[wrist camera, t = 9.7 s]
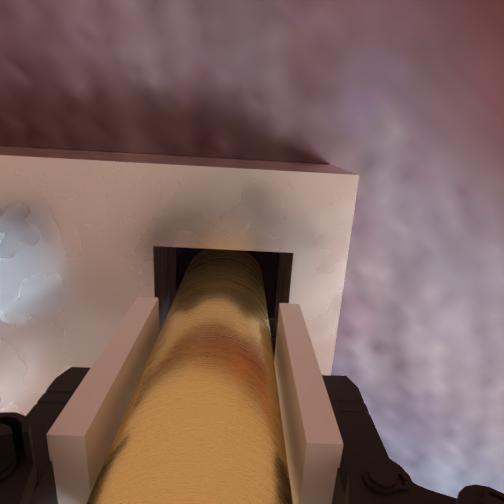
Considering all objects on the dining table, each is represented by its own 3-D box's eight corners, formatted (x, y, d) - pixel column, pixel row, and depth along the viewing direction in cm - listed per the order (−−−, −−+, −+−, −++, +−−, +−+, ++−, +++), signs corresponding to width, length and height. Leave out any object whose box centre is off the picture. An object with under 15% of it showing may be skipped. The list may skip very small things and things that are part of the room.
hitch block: (330, 164, 19) (359, 175, 14) (306, 367, 22) (322, 430, 18) (-75, 141, 18) (-191, 144, 13) (-32, 353, 22) (-110, 416, 17)
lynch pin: (184, 315, 19) (-38, 989, 4) (184, 242, 18) (-130, 814, 3) (260, 318, 19) (320, 979, 4) (265, 246, 18) (374, 807, 3)
